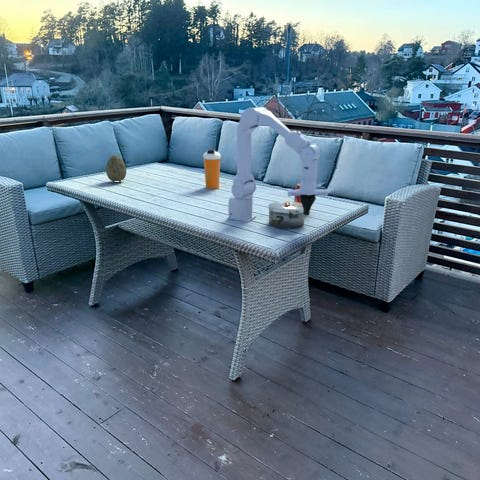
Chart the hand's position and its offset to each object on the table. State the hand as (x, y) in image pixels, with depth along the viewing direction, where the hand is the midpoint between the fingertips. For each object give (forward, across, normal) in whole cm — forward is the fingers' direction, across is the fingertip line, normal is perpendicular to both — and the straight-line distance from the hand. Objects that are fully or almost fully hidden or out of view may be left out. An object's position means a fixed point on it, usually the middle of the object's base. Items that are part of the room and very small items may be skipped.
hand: (306, 214), depth 153 cm
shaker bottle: (+6, -33, +71) cm, 78 cm away
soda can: (+6, +5, +25) cm, 26 cm away
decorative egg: (+7, -85, +87) cm, 122 cm away
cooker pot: (+6, -7, +6) cm, 11 cm away
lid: (0, -5, +6) cm, 8 cm away
